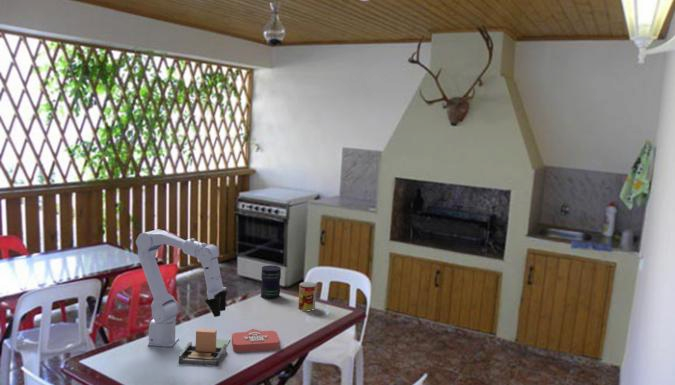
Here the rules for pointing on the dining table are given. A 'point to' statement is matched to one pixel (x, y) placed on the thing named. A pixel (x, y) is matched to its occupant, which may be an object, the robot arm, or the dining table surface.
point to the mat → (221, 343)
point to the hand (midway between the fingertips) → (220, 313)
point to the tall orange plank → (206, 340)
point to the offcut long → (200, 357)
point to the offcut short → (201, 354)
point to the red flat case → (255, 340)
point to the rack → (189, 349)
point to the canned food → (307, 296)
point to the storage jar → (270, 282)
